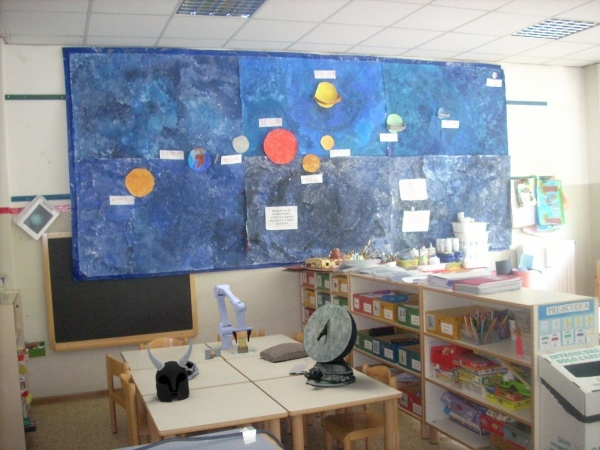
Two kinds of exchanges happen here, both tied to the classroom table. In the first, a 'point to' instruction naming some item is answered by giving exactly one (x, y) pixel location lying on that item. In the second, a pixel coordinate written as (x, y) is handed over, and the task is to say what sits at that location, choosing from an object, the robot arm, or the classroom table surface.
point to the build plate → (243, 353)
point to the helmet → (171, 376)
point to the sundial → (330, 345)
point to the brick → (242, 342)
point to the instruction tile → (212, 353)
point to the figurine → (299, 368)
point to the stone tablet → (284, 352)
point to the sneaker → (191, 369)
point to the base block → (242, 349)
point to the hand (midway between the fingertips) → (242, 342)
